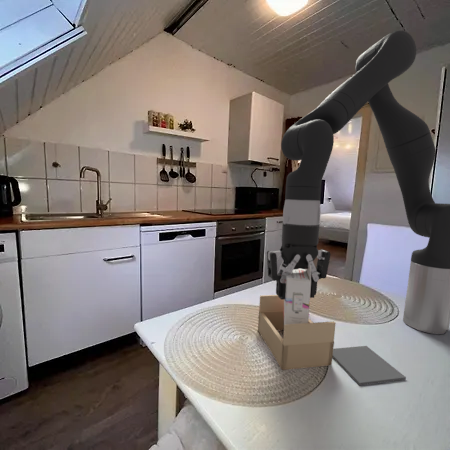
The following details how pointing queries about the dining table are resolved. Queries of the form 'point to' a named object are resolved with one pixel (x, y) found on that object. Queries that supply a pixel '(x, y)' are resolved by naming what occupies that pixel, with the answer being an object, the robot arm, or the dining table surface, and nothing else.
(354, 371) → the mat
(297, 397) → the dining table surface
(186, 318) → the dining table surface
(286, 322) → the ink cartridge box
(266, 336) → the carton
